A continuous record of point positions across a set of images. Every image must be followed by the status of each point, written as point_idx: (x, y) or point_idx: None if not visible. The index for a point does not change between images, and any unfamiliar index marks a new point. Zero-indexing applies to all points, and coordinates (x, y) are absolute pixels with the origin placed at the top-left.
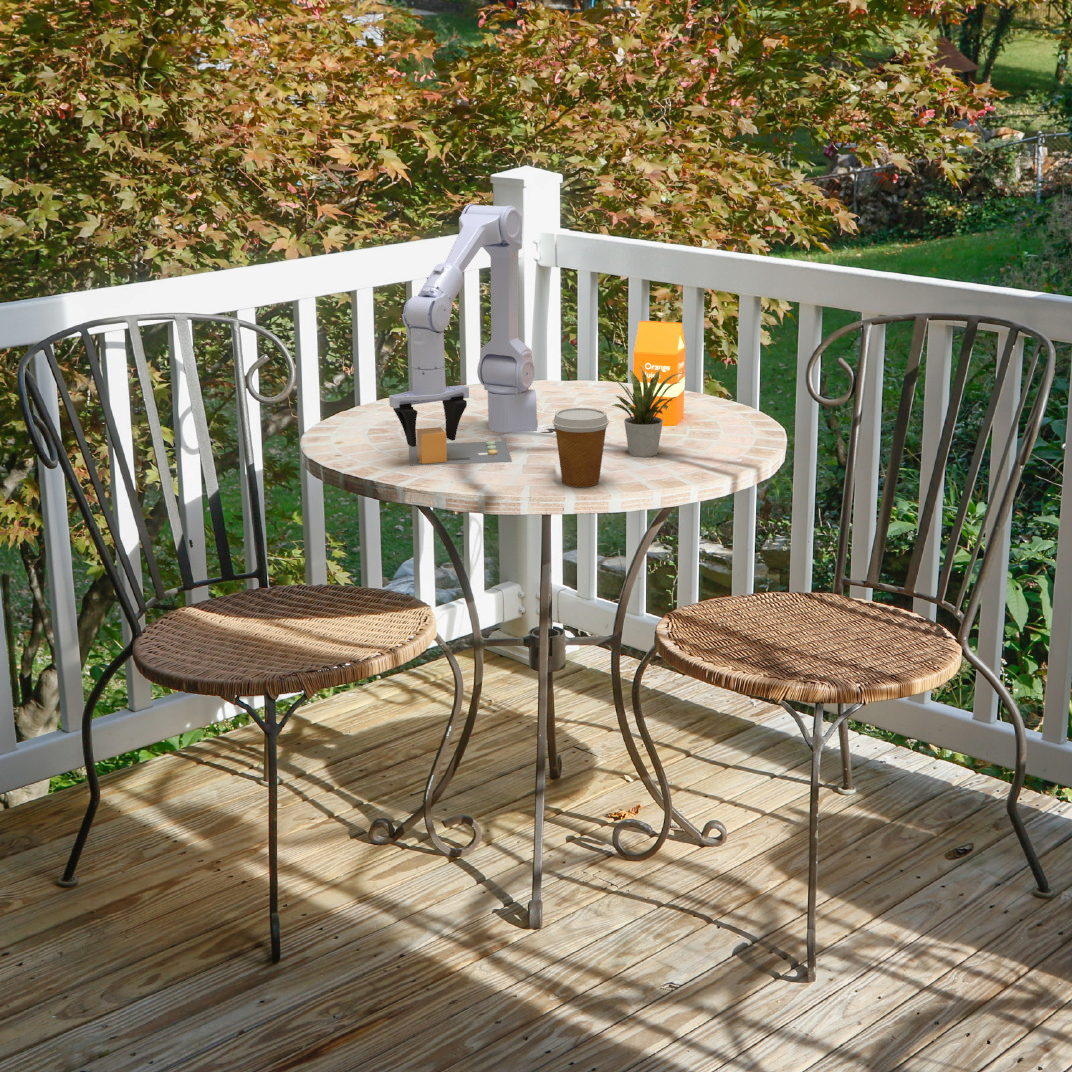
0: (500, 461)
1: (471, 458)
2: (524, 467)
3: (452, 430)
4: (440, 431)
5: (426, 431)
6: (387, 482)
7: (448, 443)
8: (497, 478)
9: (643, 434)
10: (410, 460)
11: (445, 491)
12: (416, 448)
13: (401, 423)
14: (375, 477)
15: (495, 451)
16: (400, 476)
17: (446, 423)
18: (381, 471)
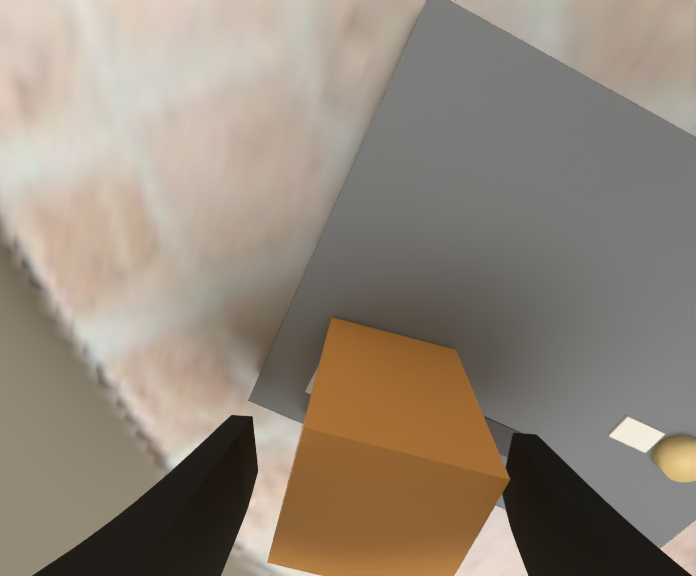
0: None
1: None
2: None
3: (528, 568)
4: (430, 561)
5: (340, 518)
6: (148, 418)
7: (669, 131)
8: (502, 566)
9: None
10: (282, 336)
11: (290, 572)
12: (421, 130)
13: (98, 538)
14: (119, 344)
15: (686, 481)
16: (215, 384)
17: (570, 525)
18: (161, 282)
